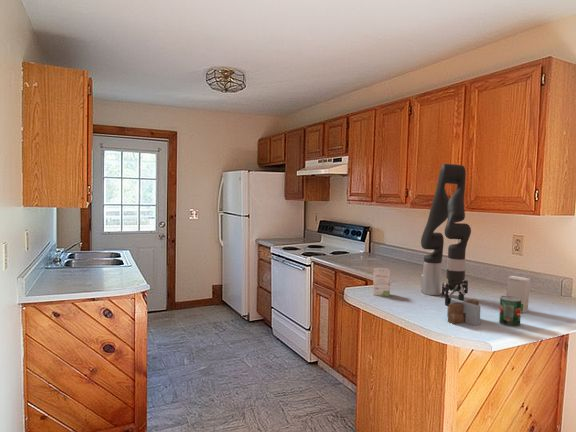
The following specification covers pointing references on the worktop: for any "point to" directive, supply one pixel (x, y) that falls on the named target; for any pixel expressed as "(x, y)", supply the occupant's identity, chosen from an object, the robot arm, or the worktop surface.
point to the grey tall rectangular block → (469, 312)
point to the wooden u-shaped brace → (458, 311)
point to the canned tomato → (510, 311)
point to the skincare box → (519, 290)
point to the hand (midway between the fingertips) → (454, 304)
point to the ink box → (381, 282)
